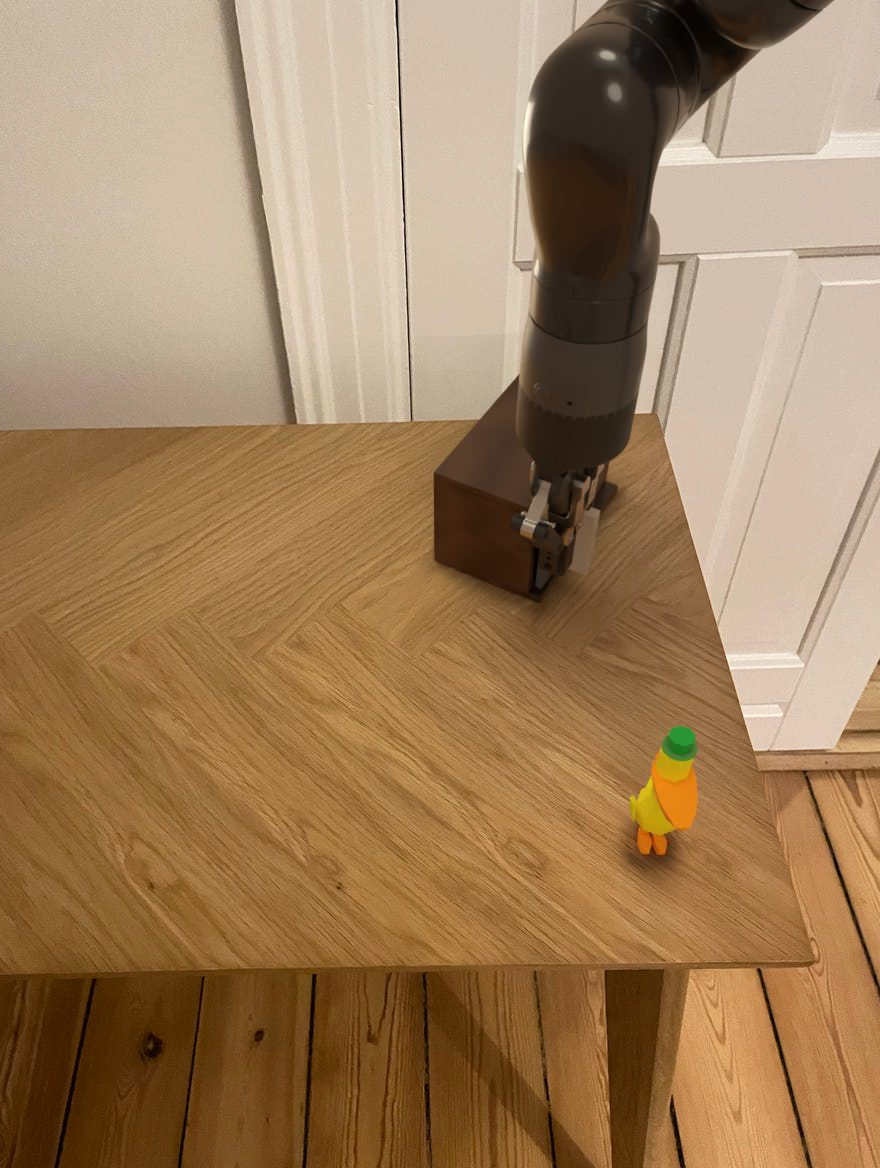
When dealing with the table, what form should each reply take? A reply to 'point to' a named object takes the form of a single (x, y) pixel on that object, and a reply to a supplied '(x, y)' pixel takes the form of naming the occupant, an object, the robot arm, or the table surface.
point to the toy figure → (667, 792)
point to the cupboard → (492, 503)
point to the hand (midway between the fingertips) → (554, 567)
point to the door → (579, 547)
